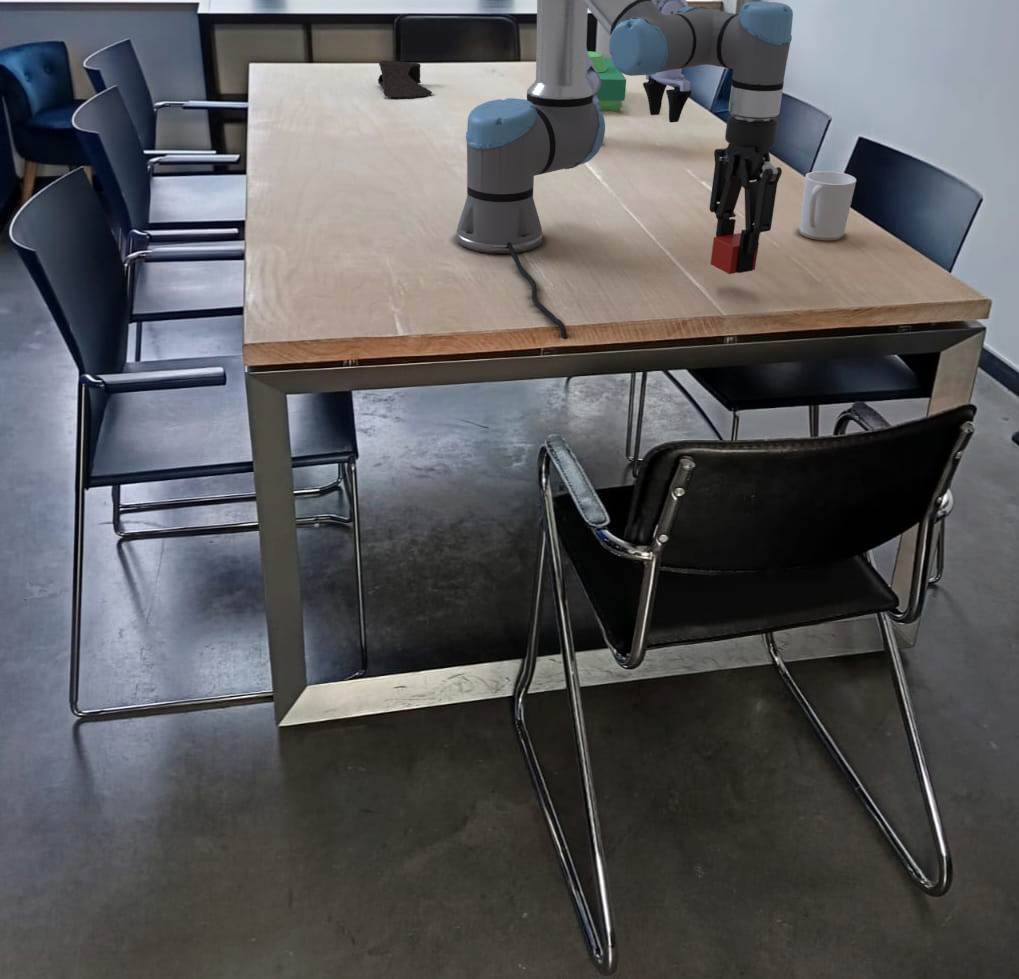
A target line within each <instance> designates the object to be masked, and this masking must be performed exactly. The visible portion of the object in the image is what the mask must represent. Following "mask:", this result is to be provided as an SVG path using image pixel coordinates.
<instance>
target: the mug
mask: <svg viewBox="0 0 1019 979" xmlns="http://www.w3.org/2000/svg"><path fill="white" fill-rule="evenodd" d="M856 183H857V178H856V177H855V176H853V175H851V174H848V173H844V172H840V171H832V170H816V171H809V172H807V173H806V174H805V177H804V184H803V194H802V203H801V212H800V219H799V228H798V232H799V234H800V235H802V236H803V237H805V238H809V239H812V240H817V241H836V240H840V239H842V238H843V237H844V236H845V230H846V227H847V221H848V217H849V215H850V214H849V213H850V209H851V205H852V201H853V196H854V193H855V189H856Z"/></svg>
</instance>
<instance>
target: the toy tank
mask: <svg viewBox="0 0 1019 979" xmlns="http://www.w3.org/2000/svg"><path fill="white" fill-rule="evenodd" d="M587 52H588V55H589V57H590V59H591V60H592V62H593V66H594V69H595V70H596V72H597V73H598V74H599V76H600V78H601V87H600V89H599V91H598V92H597V93H596V96H597V98H598V100H599V106H600V108H601V110H600V112H621V109H622V102H624V101H625V100H626V89H627V88H626V87H627V78H626V77H625V76H624V74H623V73H621V72H620V71H619V70H617V68H616V67H615V66H614V64H613V62H612V58H611V59H610V58H609V59H606V58H604V54H602V53H601V52H598V51H592V50H591V51H589V50H587Z"/></svg>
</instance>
